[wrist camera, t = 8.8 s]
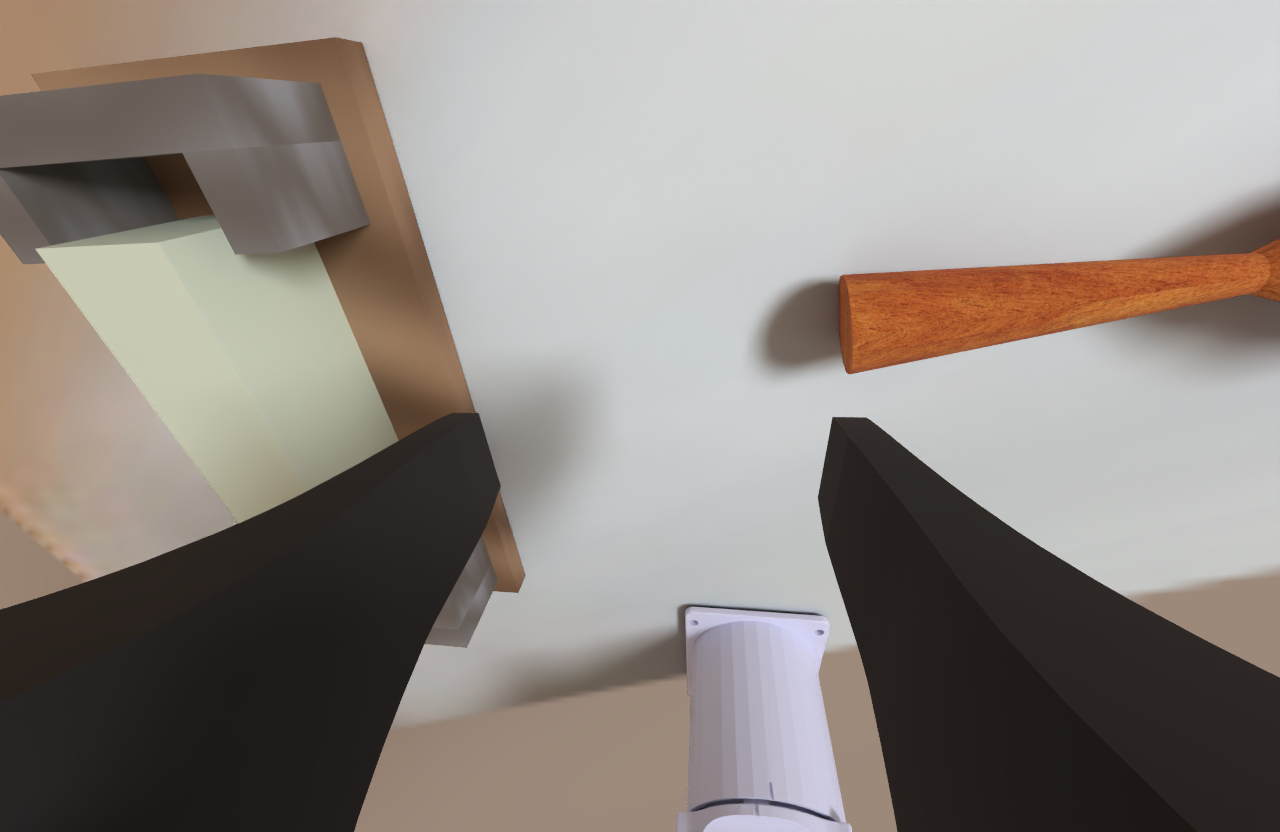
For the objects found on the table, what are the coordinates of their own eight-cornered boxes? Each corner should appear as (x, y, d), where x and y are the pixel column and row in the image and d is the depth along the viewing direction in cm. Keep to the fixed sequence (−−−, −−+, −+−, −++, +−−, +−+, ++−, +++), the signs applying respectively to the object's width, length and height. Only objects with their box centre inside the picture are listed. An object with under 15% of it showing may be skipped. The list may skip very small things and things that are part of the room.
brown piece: (857, 236, 12) (2509, -62, 6) (830, 230, 17) (1700, 67, 11) (862, 442, 14) (2101, 370, 8) (836, 381, 19) (1576, 309, 14)
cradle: (525, 575, 28) (490, 660, 23) (359, 564, 29) (298, 642, 25) (362, 42, 14) (210, 11, 10) (73, 76, 16) (-165, 62, 12)
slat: (438, 533, 25) (383, 618, 21) (370, 529, 25) (303, 611, 21) (300, 210, 16) (158, 242, 12) (202, 215, 17) (35, 248, 13)
